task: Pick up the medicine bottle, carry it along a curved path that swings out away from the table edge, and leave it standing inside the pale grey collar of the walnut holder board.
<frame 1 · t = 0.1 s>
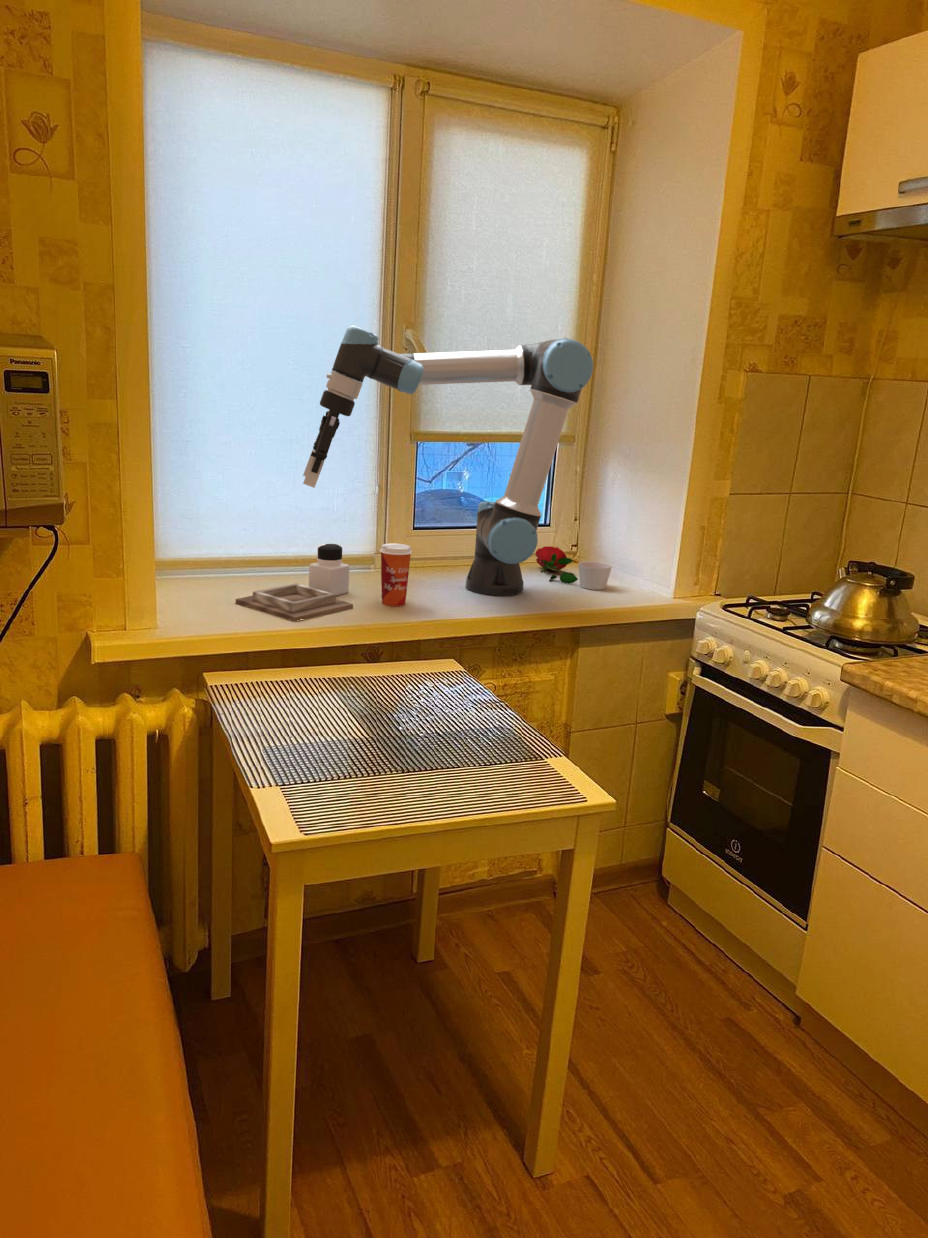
hand: (308, 481, 218), 28 cm above the table, tool tilted 20°, fingers open, 13 cm apart
white tapered cup: (592, 588, 256), on the table
paper cup: (393, 603, 225), on the table
flower: (557, 579, 263), on the table
medicine bottle: (328, 593, 231), on the table
holder board: (294, 605, 217), on the table
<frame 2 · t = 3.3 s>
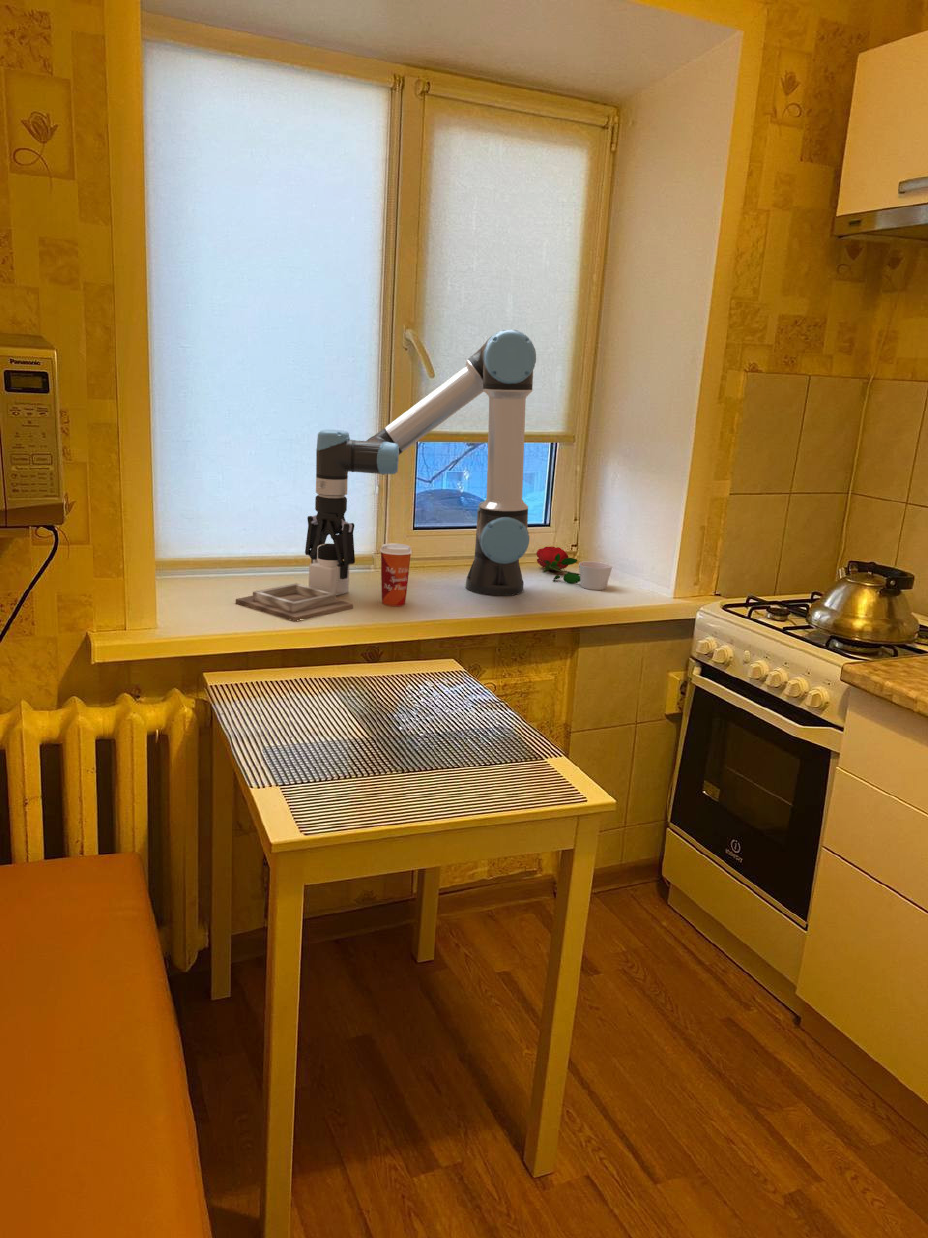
hand: (328, 587, 231), 1 cm above the table, tool pointing down, fingers closed on medicine bottle, 7 cm apart
medicine bottle: (328, 593, 231), on the table, touching gripper
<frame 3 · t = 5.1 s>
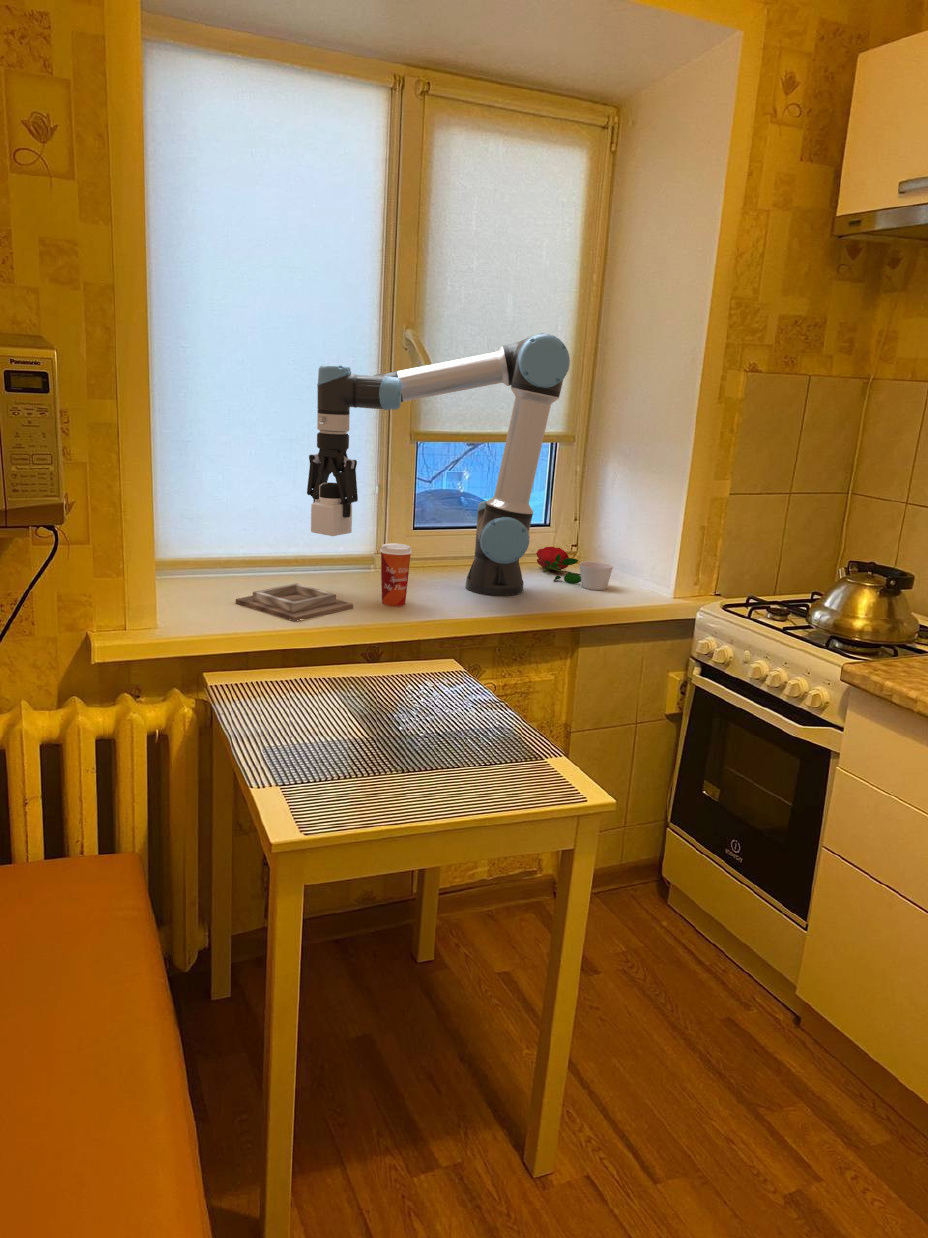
hand: (331, 527, 227), 16 cm above the table, tool pointing down, fingers closed on medicine bottle, 7 cm apart
medicine bottle: (331, 533, 227), point 15 cm above the table, touching gripper
everything else where it was.
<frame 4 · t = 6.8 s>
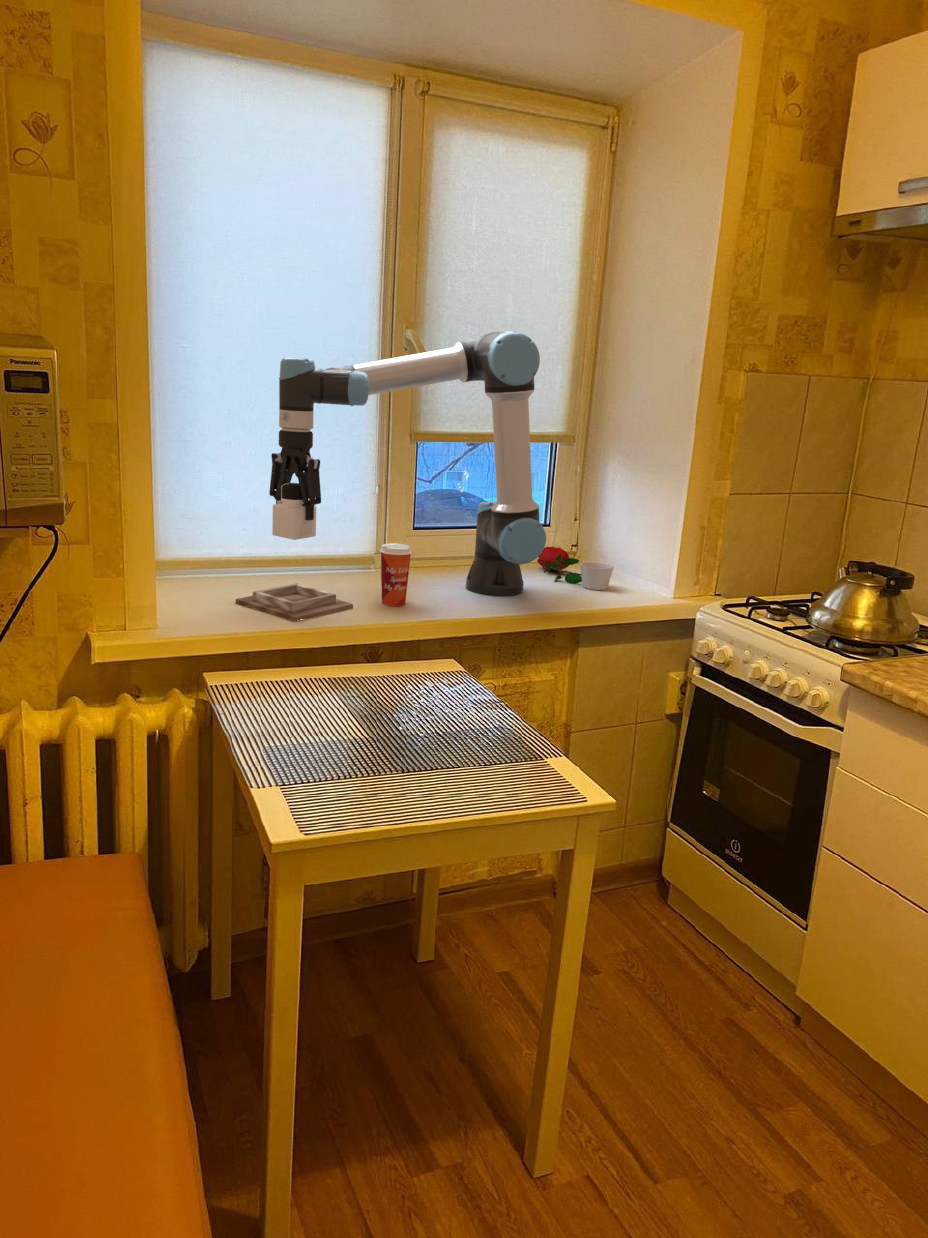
hand: (294, 531, 214), 17 cm above the table, tool pointing down, fingers closed on medicine bottle, 7 cm apart
medicine bottle: (294, 536, 214), point 16 cm above the table, touching gripper
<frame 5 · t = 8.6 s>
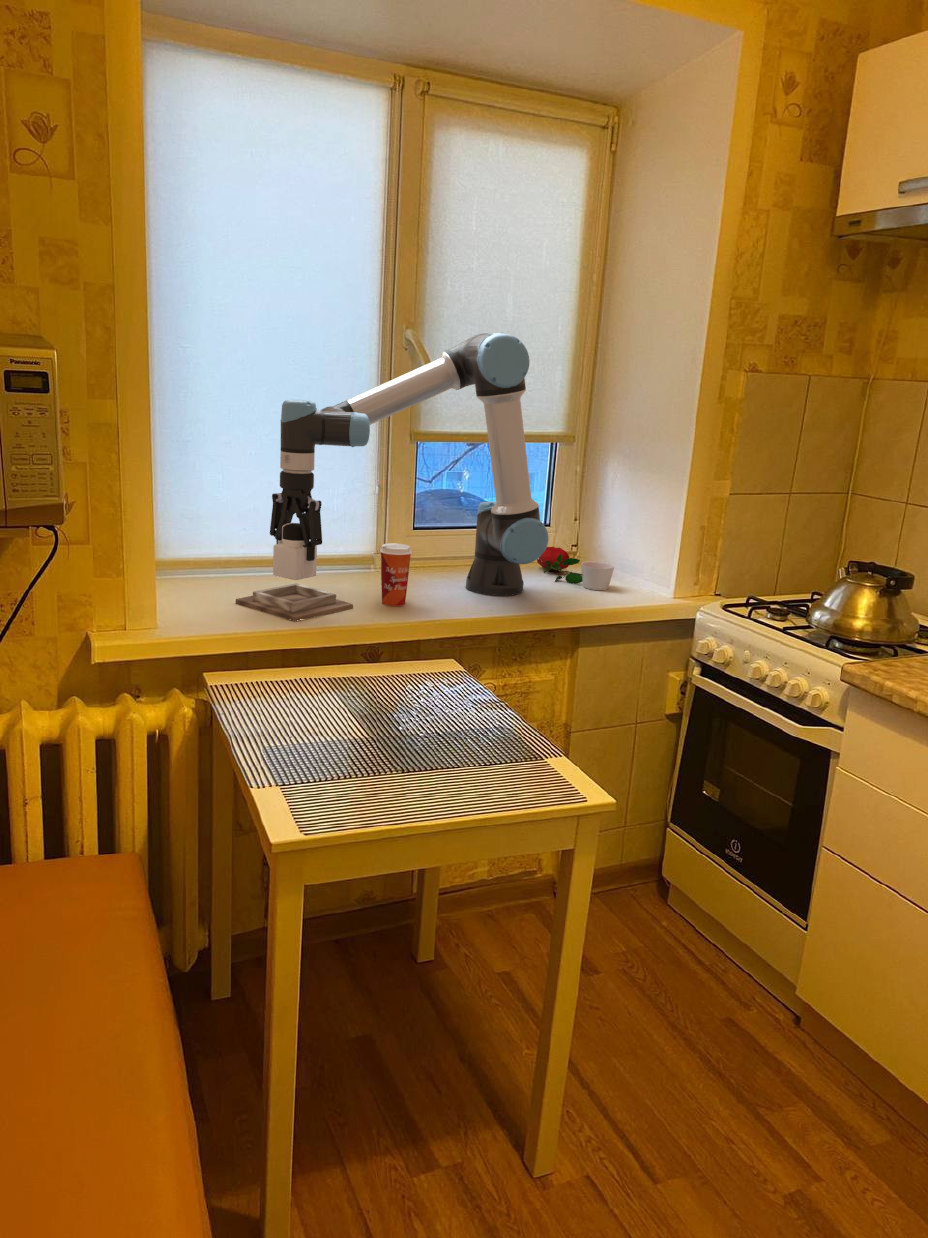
hand: (294, 570, 215), 8 cm above the table, tool pointing down, fingers closed on medicine bottle, 7 cm apart
medicine bottle: (294, 576, 215), point 7 cm above the table, touching gripper
when the fingers open (4 cm above the table, at t = 10.2 s): medicine bottle drops 2 cm, resting on holder board.
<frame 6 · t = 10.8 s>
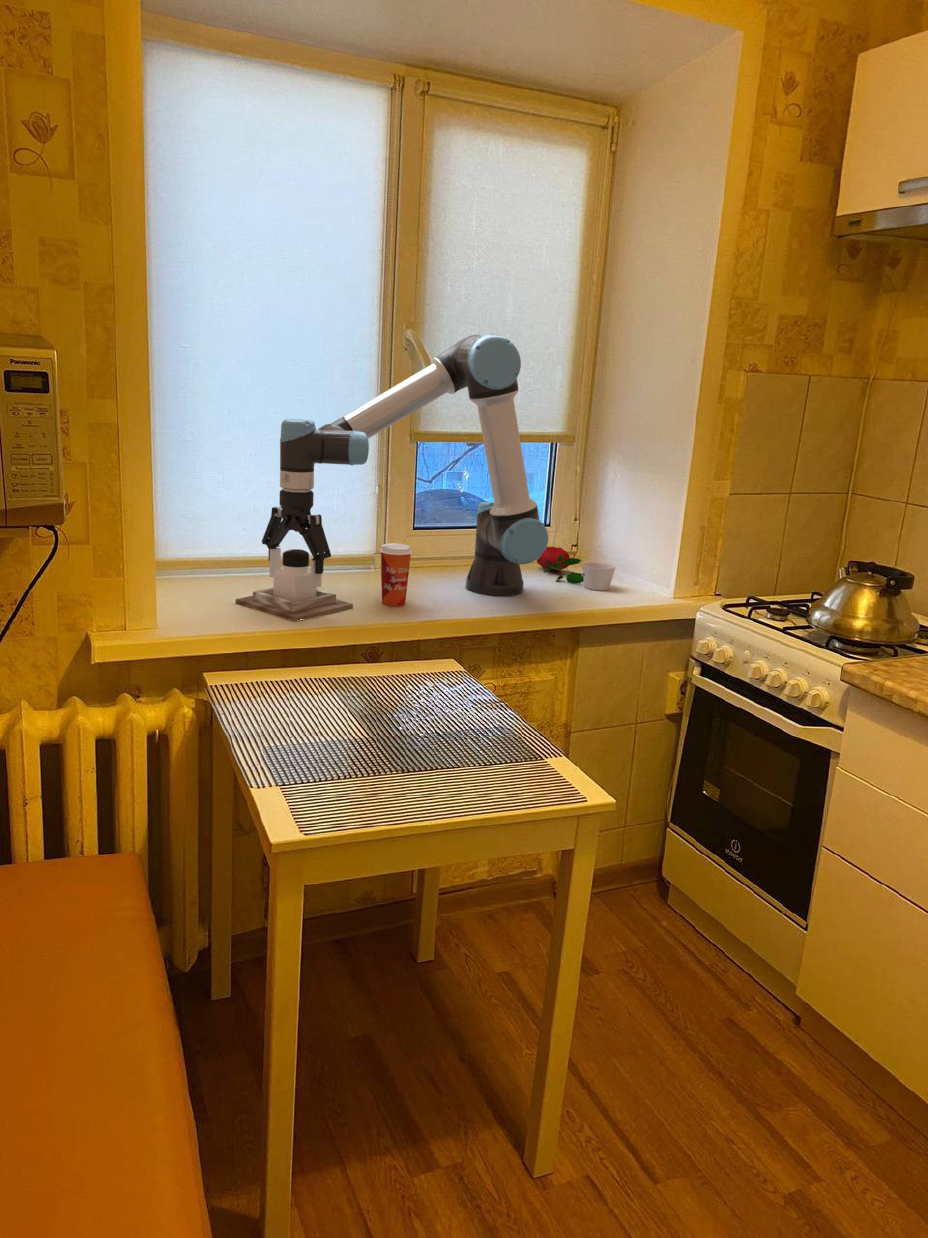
hand: (295, 581, 215), 6 cm above the table, tool pointing down, fingers open, 13 cm apart
medicine bottle: (294, 602, 217), point 1 cm above the table, touching holder board
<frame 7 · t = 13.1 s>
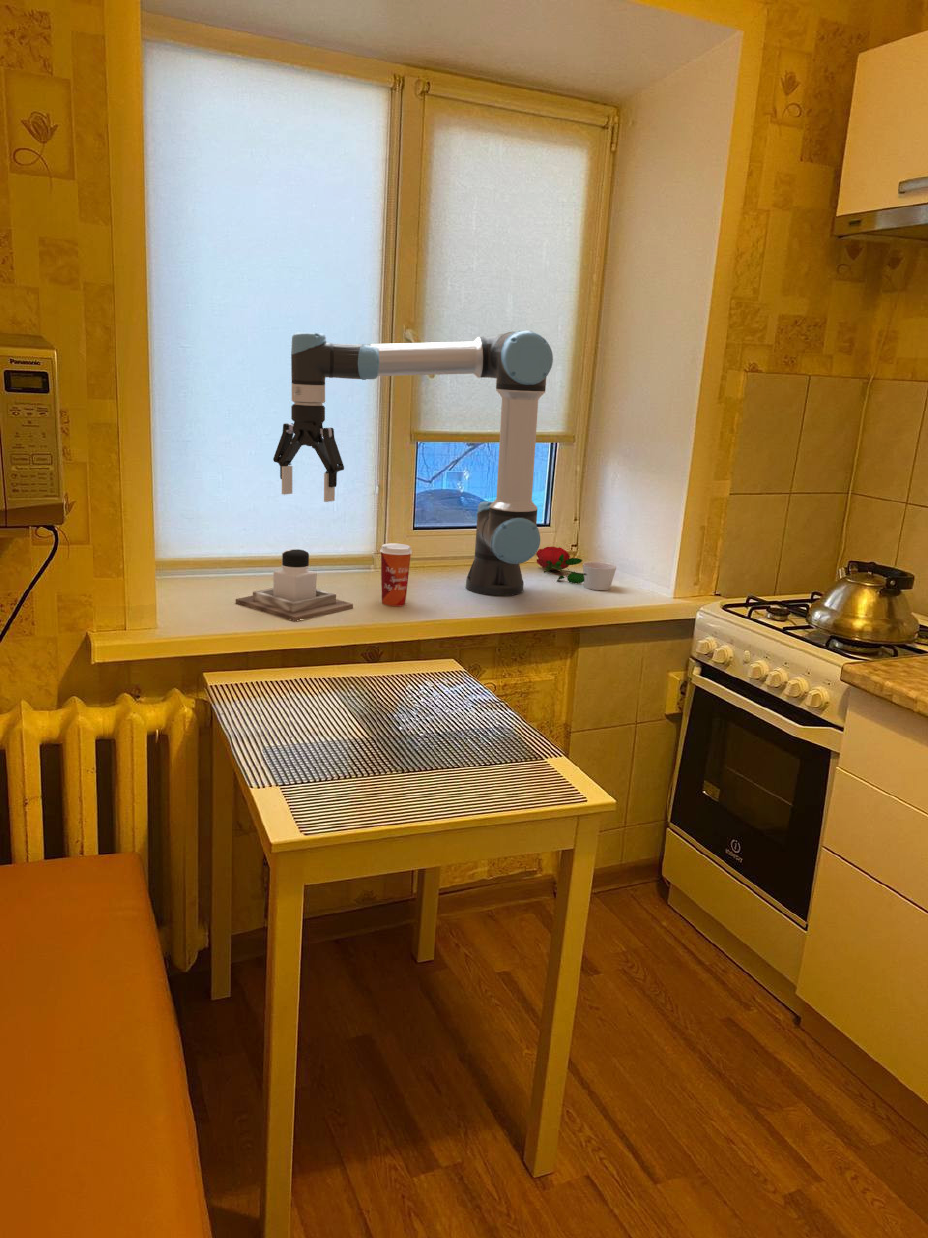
hand: (307, 497, 217), 24 cm above the table, tool pointing down, fingers open, 13 cm apart
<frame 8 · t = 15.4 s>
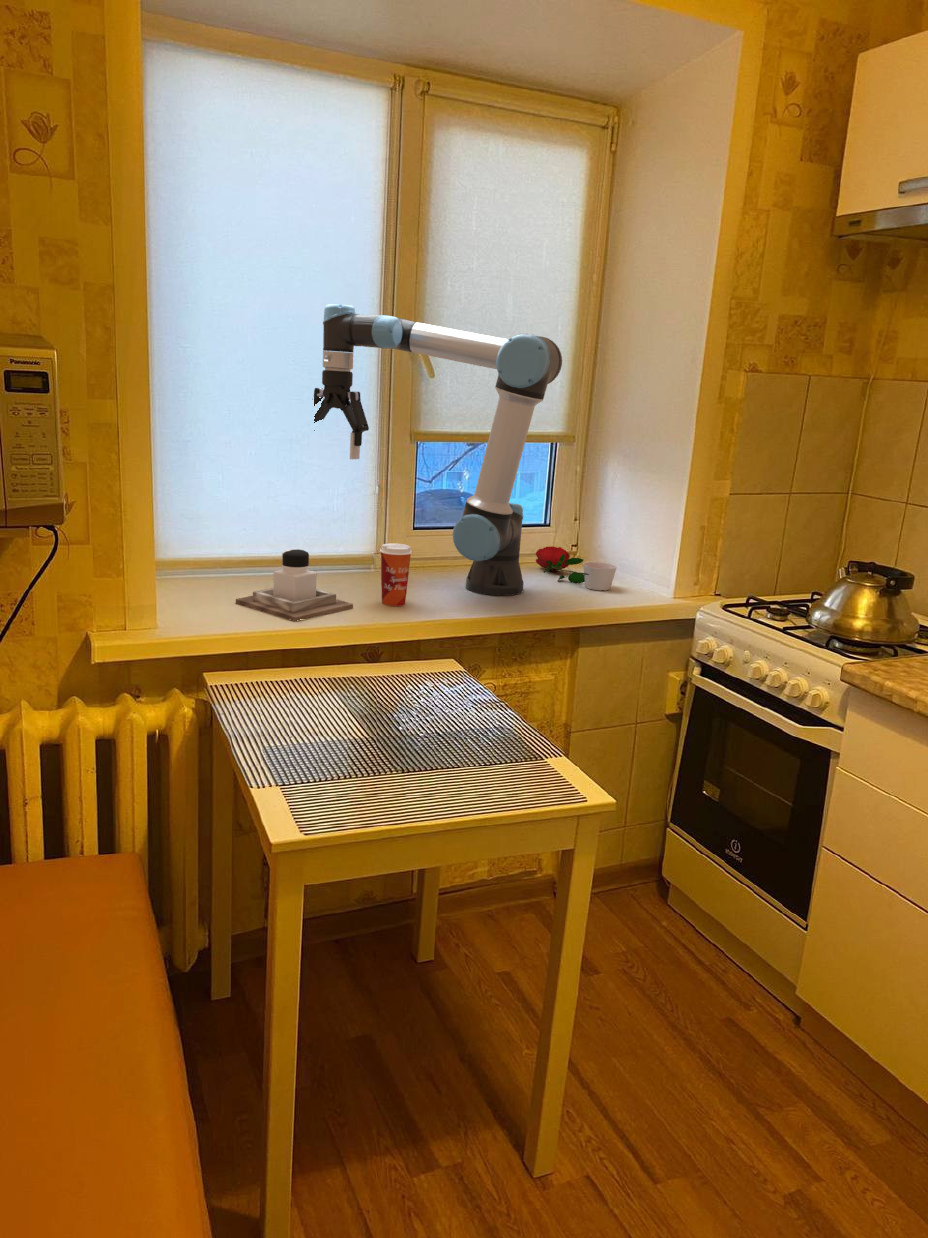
hand: (335, 456, 238), 32 cm above the table, tool pointing down, fingers open, 13 cm apart
white tapered cup: (597, 588, 255), on the table, touching flower
flower: (564, 579, 264), on the table, touching white tapered cup
everything else where it was.
at the end: medicine bottle 0.0 cm off-centre on the holder board, point 0.8 cm above the holder board's base; medicine bottle tilted 0°; the gripper is holding nothing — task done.
